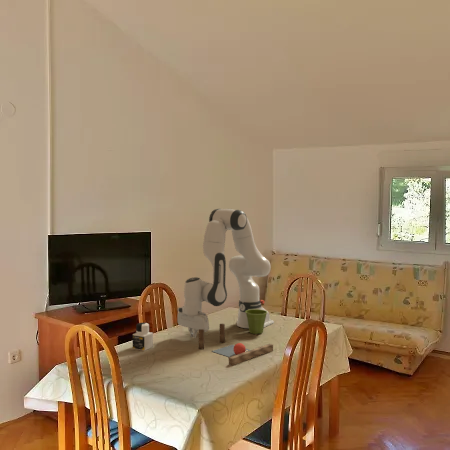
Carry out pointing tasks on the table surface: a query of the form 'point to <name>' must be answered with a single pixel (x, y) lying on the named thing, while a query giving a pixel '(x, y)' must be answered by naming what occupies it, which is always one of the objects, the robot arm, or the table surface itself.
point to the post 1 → (201, 339)
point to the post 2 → (222, 333)
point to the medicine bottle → (142, 337)
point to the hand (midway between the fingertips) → (193, 336)
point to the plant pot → (256, 320)
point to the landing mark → (227, 351)
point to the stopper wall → (250, 354)
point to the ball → (239, 348)
